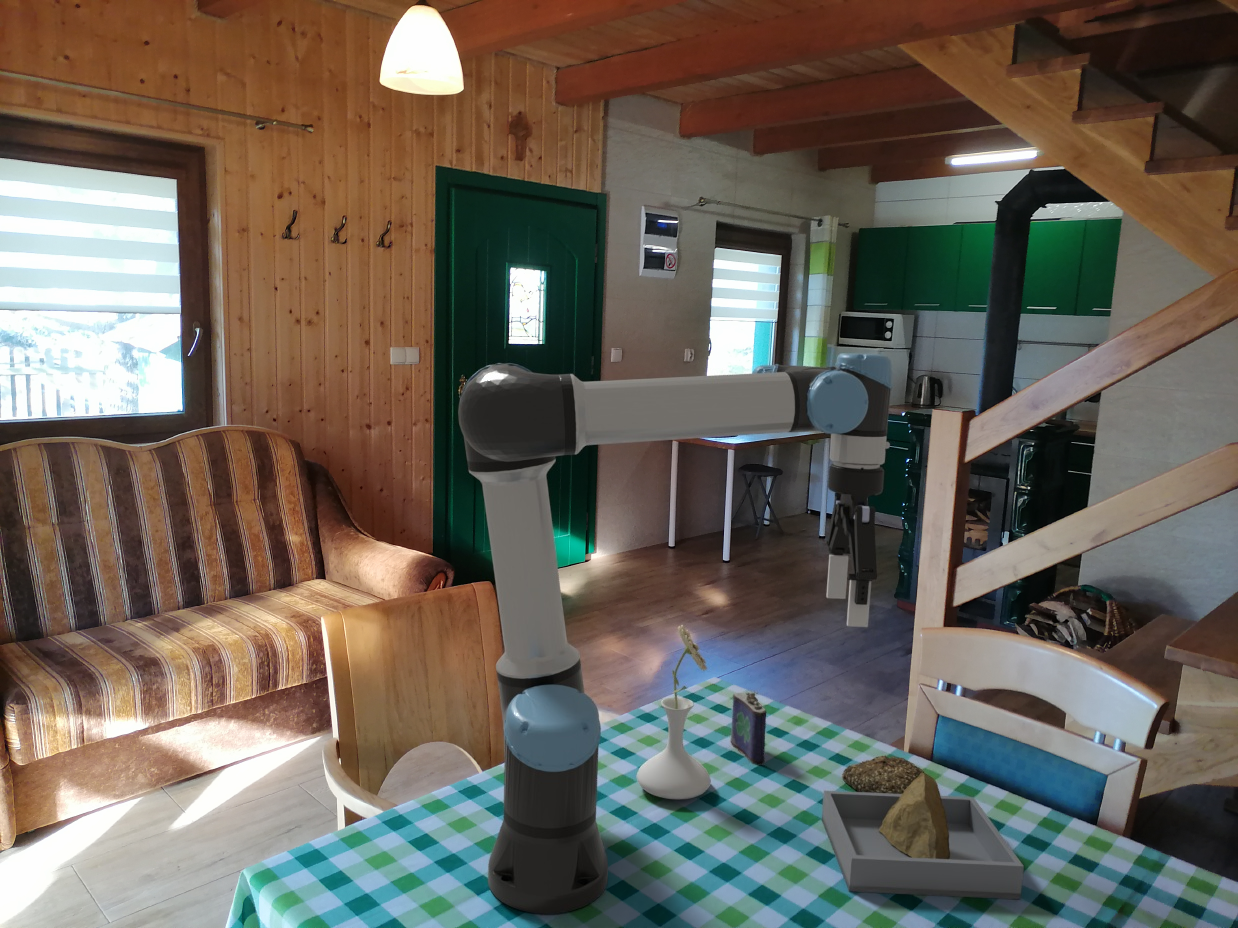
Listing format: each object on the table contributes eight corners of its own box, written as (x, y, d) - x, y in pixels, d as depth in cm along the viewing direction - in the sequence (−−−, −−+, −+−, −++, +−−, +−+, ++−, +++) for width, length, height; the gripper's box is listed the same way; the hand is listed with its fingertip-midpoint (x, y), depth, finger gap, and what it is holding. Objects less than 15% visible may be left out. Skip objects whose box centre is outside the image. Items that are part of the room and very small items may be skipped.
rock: (973, 863, 120) (961, 815, 129) (937, 812, 119) (927, 767, 128) (899, 895, 123) (892, 846, 132) (863, 846, 122) (859, 800, 132)
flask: (727, 741, 160) (731, 682, 159) (742, 739, 161) (746, 680, 160) (753, 765, 152) (757, 703, 150) (769, 763, 153) (773, 701, 151)
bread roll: (895, 814, 138) (898, 783, 138) (831, 781, 148) (833, 751, 147) (947, 792, 146) (949, 762, 145) (882, 761, 156) (885, 733, 155)
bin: (849, 891, 118) (851, 858, 117) (821, 819, 135) (823, 790, 135) (1020, 899, 118) (1023, 865, 117) (970, 826, 135) (973, 797, 134)
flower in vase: (707, 811, 137) (717, 647, 133) (631, 802, 138) (638, 640, 135) (713, 770, 149) (721, 620, 146) (642, 763, 151) (649, 614, 148)
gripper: (909, 479, 118) (896, 640, 121) (862, 454, 143) (852, 588, 146) (850, 476, 118) (838, 638, 121) (813, 452, 143) (804, 586, 146)
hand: (845, 611), depth 133 cm, fingers open, 13 cm apart
